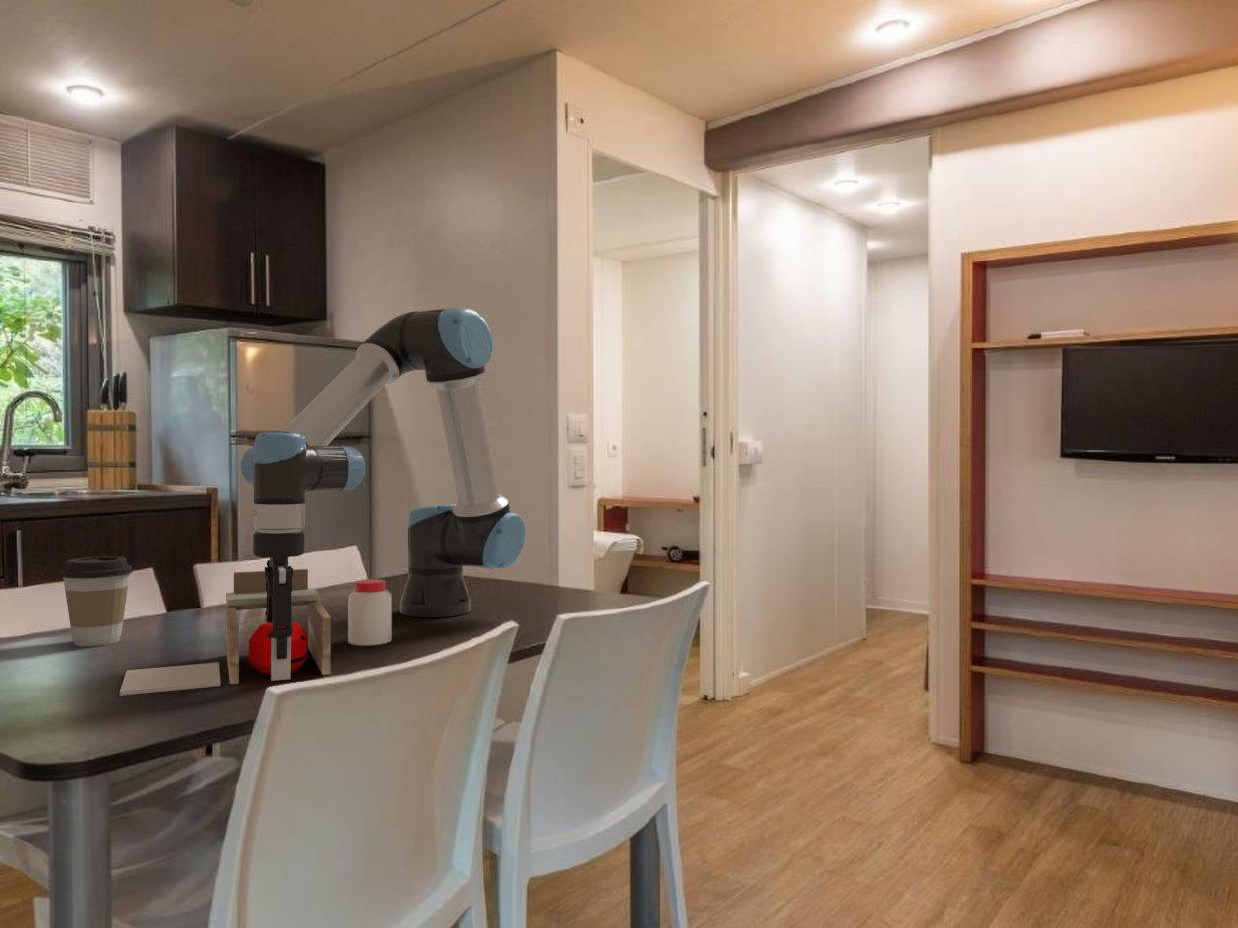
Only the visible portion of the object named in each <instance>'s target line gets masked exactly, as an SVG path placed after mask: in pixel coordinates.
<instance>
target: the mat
mask: <svg viewBox="0 0 1238 928" xmlns="http://www.w3.org/2000/svg"><path fill="white" fill-rule="evenodd" d="M220 686H221V673H220V663H219V662H218V661H217V662H208V663H198V664H185V665H174V666H162V667H151V668H143V669H142V668H140V669H130V670H129V669H128V670H126V672H125V674H124V678H123V681H122V684H121V687H120V690H119V696H120V697H121V696H132V695H133V696H135V695H140V694H142V695H143V694H151V693H152V694H153V693H161V692H171V691H172V692H173V691H182V690H195V689H203V688H212V687H213V688H214V687H220Z"/></svg>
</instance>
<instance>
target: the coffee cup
mask: <svg viewBox="0 0 1238 928" xmlns="http://www.w3.org/2000/svg"><path fill="white" fill-rule="evenodd" d="M132 573H134V572H133V566H132V565H131V564H128V560H127V558H126V557H123V556H115V555H114V556H112V555H111V556H110V555H109V556H107V555H106V556H88V557H78V558H72V559H71V558H70V559H69V560H67V561H66V563H65V567H64V568H62V569H61V570H60V575H59V576H60V578H63V584H64V591H65V599H66V605H67V611H68V619H69V624H70V625H69V626H70V633H71V638H72V641H73V645H74V646H77V647H81V648H82V647H83V648H84V647H85V648H86V647H87V648H89V647H90V648H91V647H102V646H107V645H114V644H116V643H119V642H120V638H121V636H122V632H123V624H124V619H125V618H124V617H125V613H126V612H125V610H126V603H127V596H128V588H129V582H130V574H132Z"/></svg>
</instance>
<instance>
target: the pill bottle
mask: <svg viewBox="0 0 1238 928" xmlns="http://www.w3.org/2000/svg"><path fill="white" fill-rule="evenodd" d="M386 582H387V581H386V580H385V579H378V578H376V579H375V578H374V579H373V578H372V579H370V578H369V579H368V578H367V579H360V580H358V579H357V580H355V581H354V590H353V591H352V592H351V593H350V594H349V595H348V596H347V598H348V599H347V600H348V601H347V602H348V603H347V606H348V608H347V609H348V610H347V616H348V617H347V619H348V620H347V625H348V626H347V628H348V629H347V642H348V643H349V644H350V645H353V646H363V647H364V646H378V645H384V644H387V643H390V642H391V641H392V640H393V630H392V629H393V595H392V593H391V592H390V591H389V590H388V589H386V586H387V583H386Z"/></svg>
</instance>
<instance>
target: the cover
mask: <svg viewBox="0 0 1238 928" xmlns="http://www.w3.org/2000/svg"><path fill="white" fill-rule="evenodd" d="M308 575H309V570H308V568H298V569H297V568H296V569H295V568H293V578H292V593H291V602H300V601H316V600H318V601H320V594H319V592H318V591H317V589H315V588H314V587H308V586H309V584H308V583H309V581H308V580H309V576H308ZM225 600H226V603H227V606H237V605H253V604H267V591H266V578H265V570H259V571H258V570H255V571H235V572H233V591H232V592H231V591H230V592H225Z"/></svg>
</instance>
